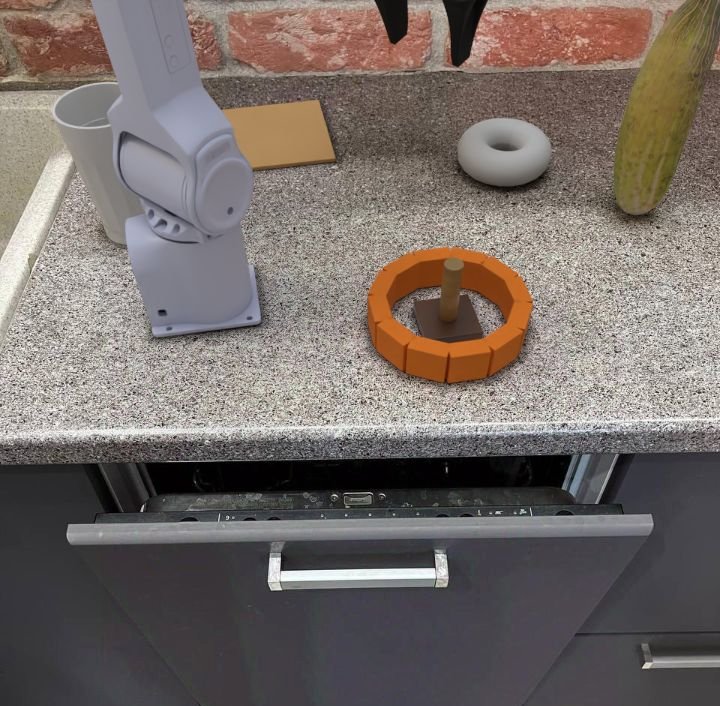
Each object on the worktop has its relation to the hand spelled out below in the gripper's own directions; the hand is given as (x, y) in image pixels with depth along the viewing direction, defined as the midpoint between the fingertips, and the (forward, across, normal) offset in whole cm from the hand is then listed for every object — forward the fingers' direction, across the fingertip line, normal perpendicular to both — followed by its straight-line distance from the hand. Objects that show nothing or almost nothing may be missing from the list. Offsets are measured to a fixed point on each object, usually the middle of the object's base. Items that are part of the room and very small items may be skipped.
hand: (429, 49), depth 68 cm
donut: (+11, -8, -1) cm, 14 cm away
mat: (+9, +16, +10) cm, 20 cm away
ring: (+7, -18, +22) cm, 30 cm away
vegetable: (+11, -22, -2) cm, 25 cm away
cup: (+6, +14, +30) cm, 34 cm away
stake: (+7, -18, +22) cm, 30 cm away
